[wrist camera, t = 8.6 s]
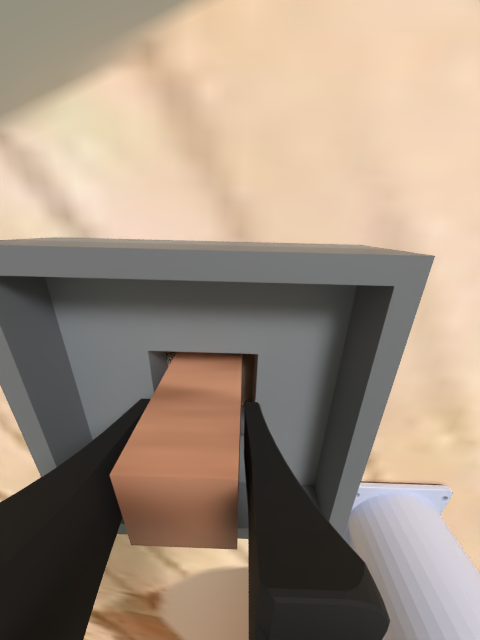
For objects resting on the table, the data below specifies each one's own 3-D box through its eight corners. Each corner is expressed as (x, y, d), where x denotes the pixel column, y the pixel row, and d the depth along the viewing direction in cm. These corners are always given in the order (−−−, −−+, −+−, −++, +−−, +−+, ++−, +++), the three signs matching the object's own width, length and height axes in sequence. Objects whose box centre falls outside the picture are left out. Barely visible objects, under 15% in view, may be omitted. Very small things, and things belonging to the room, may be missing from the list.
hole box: (315, 460, 18) (340, 542, 13) (111, 453, 18) (65, 532, 13) (361, 245, 12) (435, 256, 7) (55, 237, 12) (-63, 243, 7)
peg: (241, 399, 16) (237, 549, 9) (184, 397, 16) (131, 544, 9) (242, 348, 14) (238, 479, 7) (179, 347, 14) (109, 474, 7)
